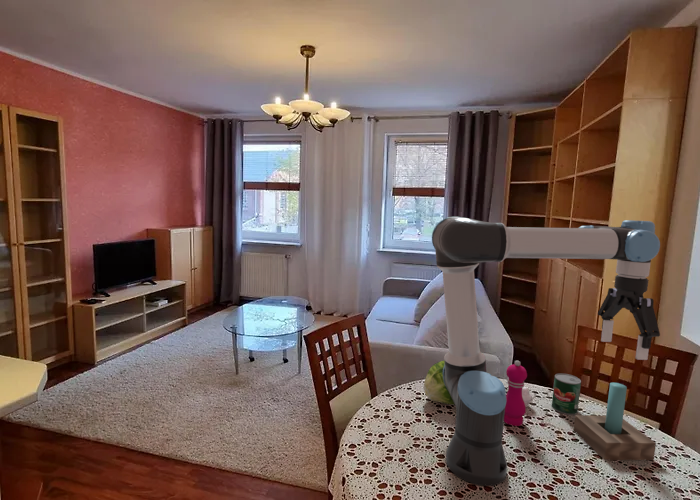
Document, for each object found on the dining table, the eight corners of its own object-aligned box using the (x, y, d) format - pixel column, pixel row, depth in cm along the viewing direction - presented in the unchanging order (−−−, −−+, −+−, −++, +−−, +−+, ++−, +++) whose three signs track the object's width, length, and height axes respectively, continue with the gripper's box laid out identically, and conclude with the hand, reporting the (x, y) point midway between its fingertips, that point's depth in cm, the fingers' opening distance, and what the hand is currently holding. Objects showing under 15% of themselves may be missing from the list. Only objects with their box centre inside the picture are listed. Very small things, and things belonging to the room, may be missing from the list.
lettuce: (418, 397, 143) (411, 363, 138) (468, 376, 148) (463, 342, 143) (440, 427, 129) (433, 391, 123) (495, 403, 133) (490, 366, 128)
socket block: (604, 459, 107) (606, 442, 107) (573, 430, 121) (575, 415, 120) (653, 460, 108) (656, 443, 107) (617, 431, 122) (619, 415, 121)
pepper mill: (526, 428, 121) (533, 366, 119) (502, 425, 122) (507, 363, 120) (521, 416, 128) (527, 357, 126) (498, 413, 129) (503, 355, 127)
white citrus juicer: (514, 399, 140) (516, 380, 139) (533, 404, 136) (535, 385, 135) (510, 405, 135) (511, 386, 134) (529, 411, 131) (531, 392, 130)
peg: (609, 448, 112) (616, 388, 110) (599, 440, 116) (606, 382, 114) (622, 448, 113) (630, 389, 111) (612, 440, 117) (619, 382, 114)
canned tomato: (553, 411, 132) (556, 380, 131) (550, 401, 139) (553, 371, 138) (579, 417, 129) (583, 385, 128) (575, 406, 136) (578, 375, 135)
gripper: (684, 285, 96) (673, 368, 99) (613, 269, 121) (605, 335, 124) (655, 284, 96) (644, 367, 99) (589, 268, 121) (582, 334, 123)
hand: (622, 349), depth 111 cm, fingers open, 13 cm apart
